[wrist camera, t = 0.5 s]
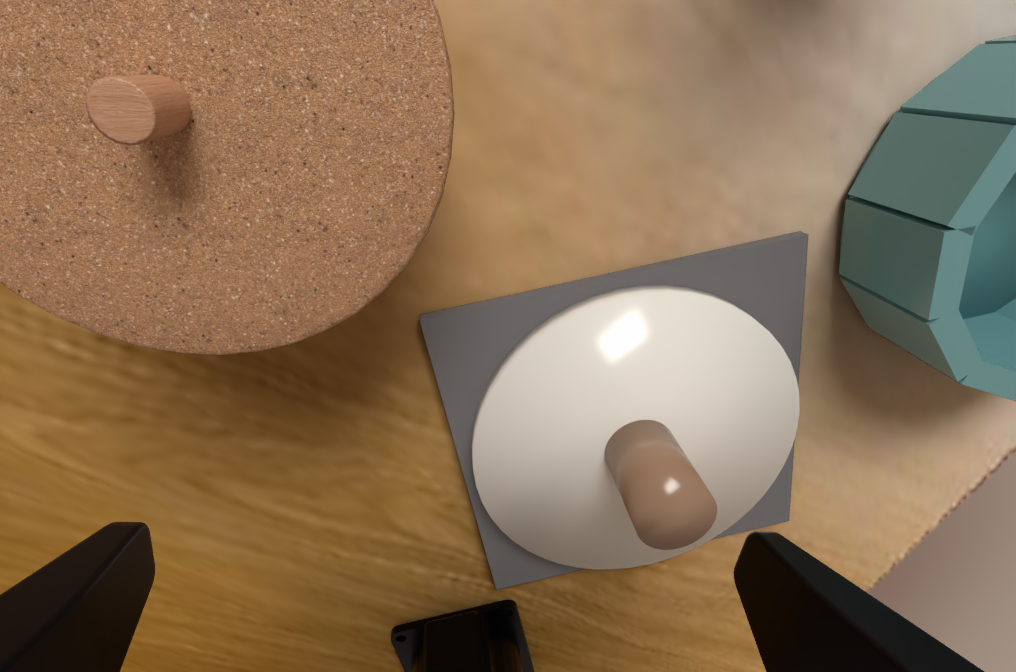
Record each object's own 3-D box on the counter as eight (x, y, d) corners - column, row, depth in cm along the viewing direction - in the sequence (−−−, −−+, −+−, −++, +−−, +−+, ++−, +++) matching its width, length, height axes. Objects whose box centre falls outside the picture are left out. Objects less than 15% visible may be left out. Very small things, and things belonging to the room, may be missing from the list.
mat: (783, 513, 28) (788, 521, 28) (495, 581, 28) (496, 590, 28) (800, 231, 22) (808, 234, 21) (419, 314, 21) (419, 320, 21)
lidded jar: (446, 254, 20) (457, 389, 12) (128, 253, 19) (-112, 406, 11) (444, -116, 16) (460, -318, 7) (20, -152, 14) (-566, -455, 6)
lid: (779, 515, 28) (846, 602, 23) (504, 580, 27) (518, 681, 23) (794, 249, 21) (890, 299, 17) (436, 329, 21) (437, 400, 17)
